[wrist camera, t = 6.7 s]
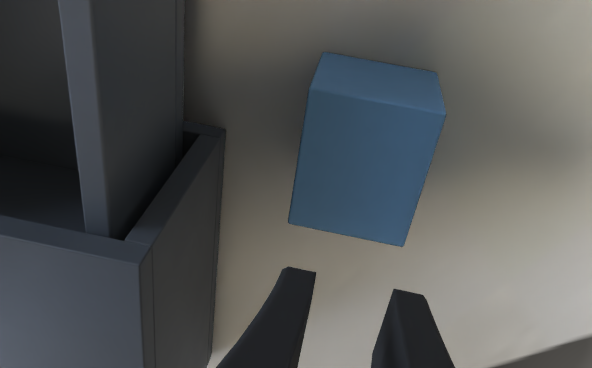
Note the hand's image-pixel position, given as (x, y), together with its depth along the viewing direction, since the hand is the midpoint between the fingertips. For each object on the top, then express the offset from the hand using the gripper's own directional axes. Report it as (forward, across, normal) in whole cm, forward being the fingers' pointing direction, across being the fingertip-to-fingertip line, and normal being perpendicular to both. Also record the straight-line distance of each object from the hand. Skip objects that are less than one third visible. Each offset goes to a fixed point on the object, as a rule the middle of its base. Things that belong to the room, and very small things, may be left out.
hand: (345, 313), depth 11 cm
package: (+9, 0, 0) cm, 9 cm away
